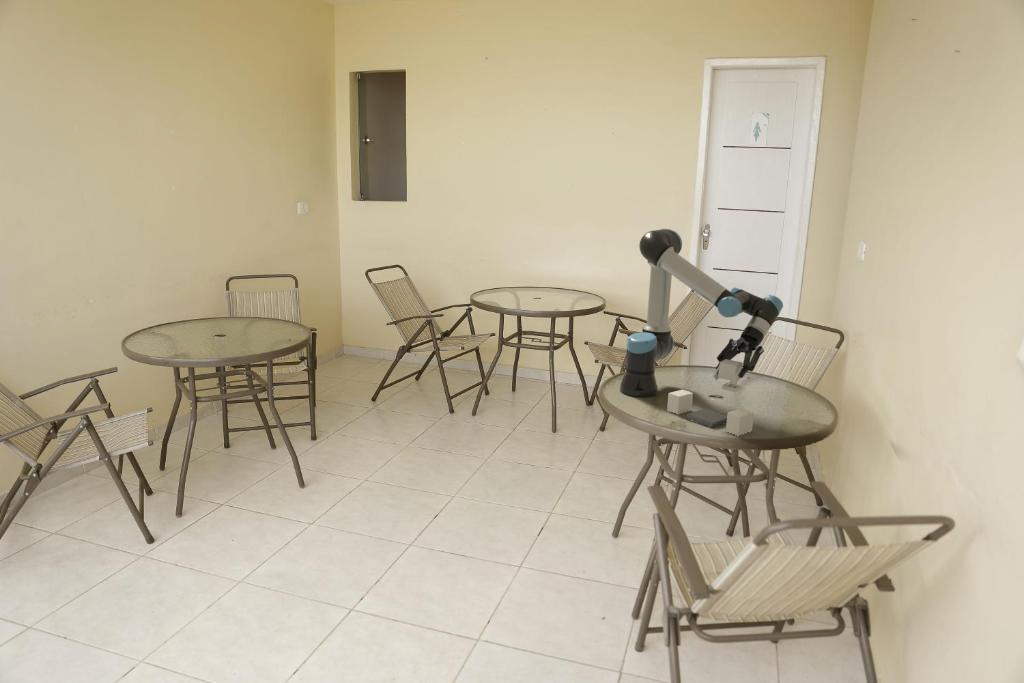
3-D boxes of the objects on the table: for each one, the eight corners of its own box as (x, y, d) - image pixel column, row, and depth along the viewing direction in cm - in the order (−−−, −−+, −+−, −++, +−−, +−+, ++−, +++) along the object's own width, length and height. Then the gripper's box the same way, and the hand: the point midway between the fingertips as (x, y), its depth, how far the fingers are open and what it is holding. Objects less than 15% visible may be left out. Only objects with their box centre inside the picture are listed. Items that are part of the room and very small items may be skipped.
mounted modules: (667, 410, 258) (668, 393, 256) (680, 407, 262) (682, 389, 261) (738, 436, 234) (740, 416, 232) (751, 431, 239) (754, 412, 237)
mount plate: (686, 419, 249) (687, 413, 249) (704, 413, 255) (704, 408, 255) (711, 428, 241) (712, 422, 241) (729, 422, 247) (729, 417, 246)
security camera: (723, 384, 257) (726, 358, 254) (742, 388, 252) (745, 362, 250) (716, 388, 252) (719, 362, 249) (735, 392, 248) (738, 365, 245)
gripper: (782, 343, 250) (751, 393, 244) (735, 332, 265) (705, 379, 259) (776, 331, 245) (744, 381, 239) (728, 320, 261) (697, 368, 255)
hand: (723, 380), depth 249 cm, fingers closed on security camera, 7 cm apart
